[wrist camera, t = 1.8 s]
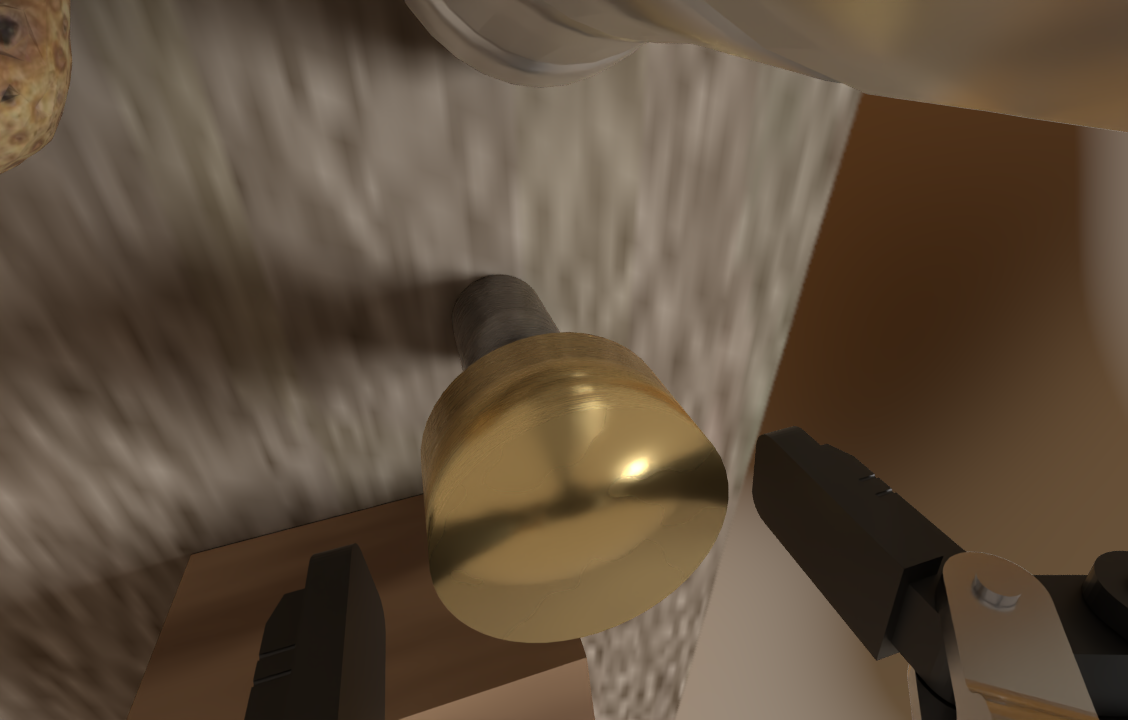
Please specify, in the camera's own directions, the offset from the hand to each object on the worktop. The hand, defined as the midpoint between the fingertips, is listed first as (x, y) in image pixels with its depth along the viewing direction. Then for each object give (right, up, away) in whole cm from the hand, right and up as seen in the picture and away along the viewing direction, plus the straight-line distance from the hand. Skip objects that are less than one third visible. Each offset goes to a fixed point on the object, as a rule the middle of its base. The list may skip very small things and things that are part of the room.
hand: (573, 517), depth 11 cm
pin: (-2, +4, +7) cm, 9 cm away
